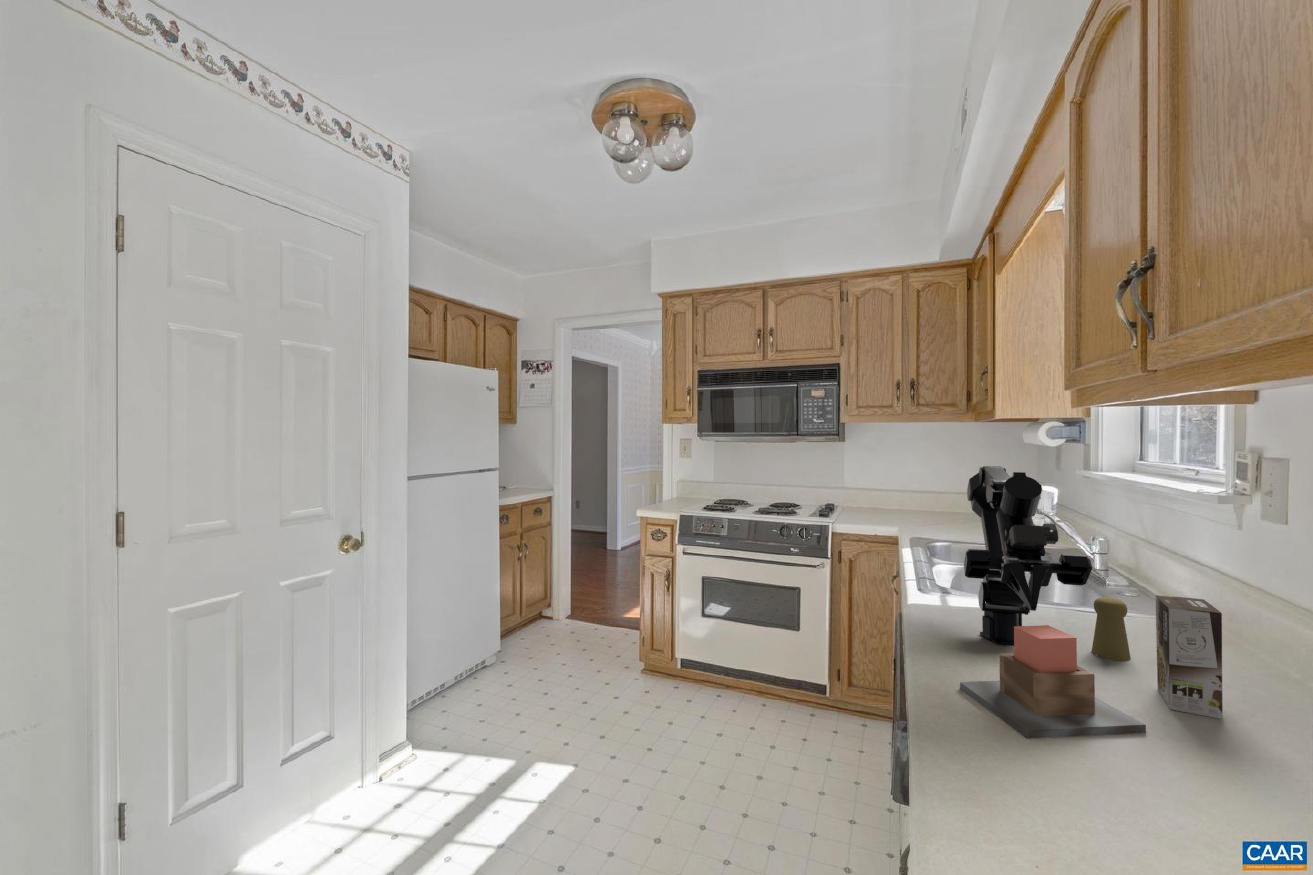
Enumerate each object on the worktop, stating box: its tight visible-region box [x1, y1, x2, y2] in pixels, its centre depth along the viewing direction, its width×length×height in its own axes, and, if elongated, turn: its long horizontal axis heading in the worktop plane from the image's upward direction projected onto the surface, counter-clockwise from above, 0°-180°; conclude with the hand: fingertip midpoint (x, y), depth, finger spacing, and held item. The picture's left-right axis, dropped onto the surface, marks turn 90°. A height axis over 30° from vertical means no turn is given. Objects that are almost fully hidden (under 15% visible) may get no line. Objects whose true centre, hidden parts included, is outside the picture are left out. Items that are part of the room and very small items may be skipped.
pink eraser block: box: [1013, 624, 1078, 673], centre depth 90 cm, size 6×6×6 cm
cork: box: [1091, 596, 1132, 662], centre depth 111 cm, size 6×6×11 cm
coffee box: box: [1155, 594, 1223, 720], centre depth 91 cm, size 9×6×16 cm
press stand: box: [959, 652, 1147, 739], centre depth 90 cm, size 18×16×7 cm
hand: (1033, 609), depth 96 cm, fingers closed
